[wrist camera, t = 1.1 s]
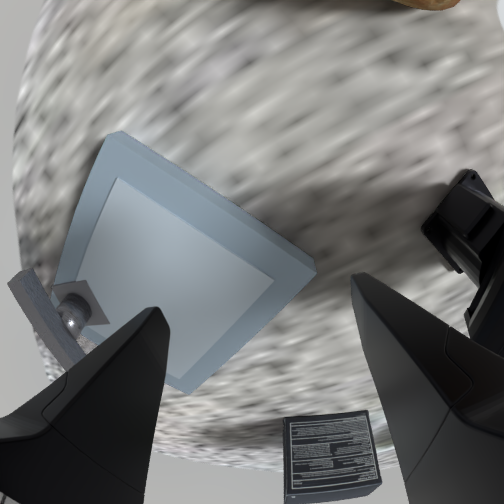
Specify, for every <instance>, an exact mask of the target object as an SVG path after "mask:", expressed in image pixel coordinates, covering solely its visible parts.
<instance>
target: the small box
mask: <svg viewBox="0 0 504 504" xmlns="http://www.w3.org/2000/svg"><path fill="white" fill-rule="evenodd" d="M283 425H284V427H283V428H284V430H283V457H284V458H283V460H284V504H310V503H321V502H329V501H338V500H344V499H351V498H358V497H363V496H367V495H369V494H370V493H372V492H373V491H374V490H375V489H376V488H377V487H379V486H380V485H381V484H382V479H381V476H380V470H379V465H378V460H377V453H376V448H375V443H374V438H373V434H372V428H371V425H370V419H369V412H368V410H365V411H357V412H350V413H341V414H332V415H320V416H305V417H286V418H284V420H283Z"/></svg>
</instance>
